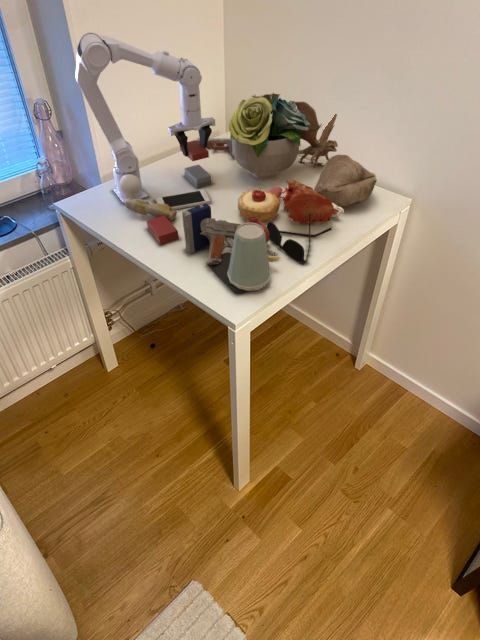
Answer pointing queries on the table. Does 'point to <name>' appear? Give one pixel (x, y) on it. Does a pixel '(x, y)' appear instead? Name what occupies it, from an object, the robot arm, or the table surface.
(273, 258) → the fox
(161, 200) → the smartphone
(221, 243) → the pistol
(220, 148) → the handgun
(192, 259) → the table surface
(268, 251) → the toy
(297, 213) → the seashell
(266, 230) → the fruit
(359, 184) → the seashell
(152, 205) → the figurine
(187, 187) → the table surface
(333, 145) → the dragon
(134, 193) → the light bulb
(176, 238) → the oxblood stack
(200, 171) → the grey stack
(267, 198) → the pastry
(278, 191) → the figurine
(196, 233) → the cassette player
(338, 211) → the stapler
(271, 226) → the sunglasses
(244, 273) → the disposable coffee cup
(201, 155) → the oxblood book
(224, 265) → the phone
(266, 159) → the flower arrangement
